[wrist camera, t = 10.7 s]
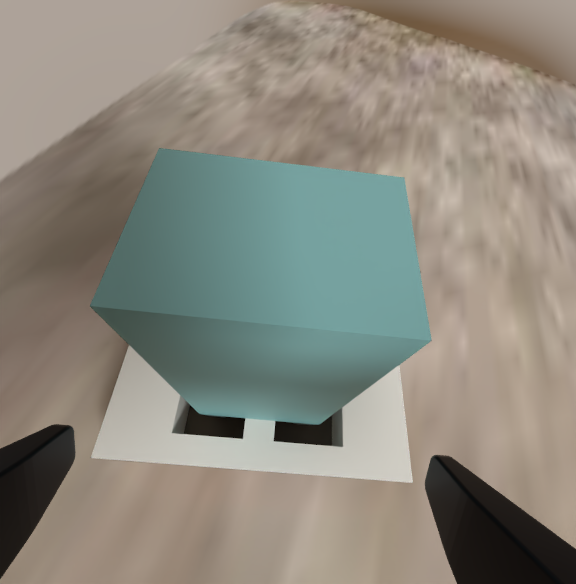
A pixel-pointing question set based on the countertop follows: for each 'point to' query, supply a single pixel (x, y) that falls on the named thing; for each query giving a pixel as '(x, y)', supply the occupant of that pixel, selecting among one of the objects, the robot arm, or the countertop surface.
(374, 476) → the slotted plate
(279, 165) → the teal pillar on feet
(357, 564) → the countertop surface
